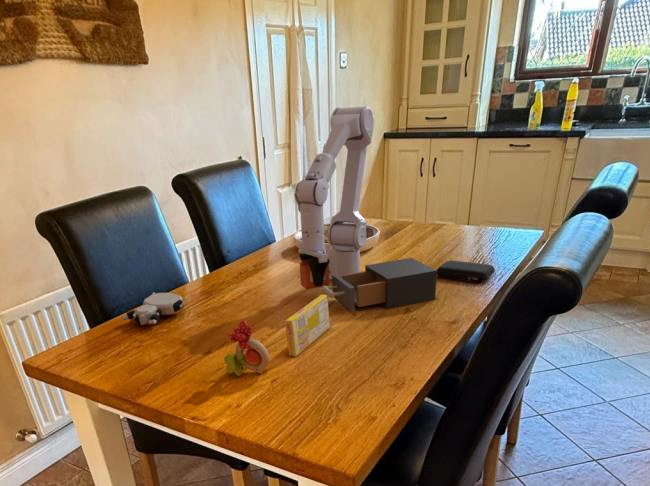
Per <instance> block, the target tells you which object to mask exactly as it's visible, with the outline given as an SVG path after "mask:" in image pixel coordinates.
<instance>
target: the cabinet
mask: <svg viewBox="0 0 650 486" xmlns="http://www.w3.org/2000/svg"><path fill="white" fill-rule="evenodd" d="M364 271H371V272H372V273H374V274H375V275H377V276H379V277H380V278H382V279H384V280H385V281H386V302H383V303H379V304H380V305H381V306H383V307H384V308H386V309H392V308H397V307H402V306H408V305H413V304H418V303H424V302H428V301H434V300H436V289H437V280H438V279H437V278H438V275H437V269H435V268H433V267H431V266H430V265H428V264H425V263H423V262H421V261H419V260H416V259H415V258H413V257H408V258H407V257H406V258H402V259H395V260H389V261H384V262H378V263H377V262H376V263H371V264H366V265H364Z"/></svg>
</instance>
